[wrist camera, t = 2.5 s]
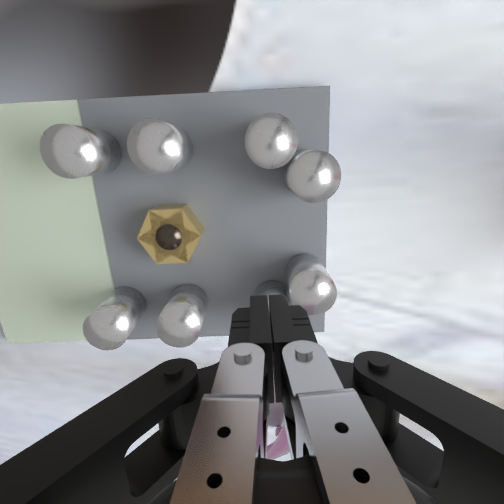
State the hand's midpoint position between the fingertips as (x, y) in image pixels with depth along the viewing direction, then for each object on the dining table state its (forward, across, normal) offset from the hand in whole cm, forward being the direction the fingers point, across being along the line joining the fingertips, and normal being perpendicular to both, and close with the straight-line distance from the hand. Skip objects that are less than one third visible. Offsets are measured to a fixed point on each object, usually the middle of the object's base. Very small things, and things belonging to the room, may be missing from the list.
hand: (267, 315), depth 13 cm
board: (+17, +10, 0) cm, 20 cm away
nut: (+16, +8, 0) cm, 18 cm away
